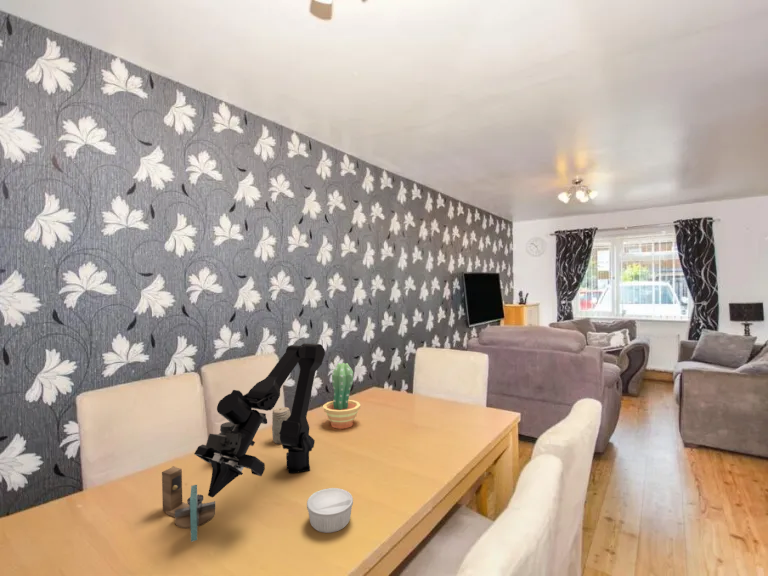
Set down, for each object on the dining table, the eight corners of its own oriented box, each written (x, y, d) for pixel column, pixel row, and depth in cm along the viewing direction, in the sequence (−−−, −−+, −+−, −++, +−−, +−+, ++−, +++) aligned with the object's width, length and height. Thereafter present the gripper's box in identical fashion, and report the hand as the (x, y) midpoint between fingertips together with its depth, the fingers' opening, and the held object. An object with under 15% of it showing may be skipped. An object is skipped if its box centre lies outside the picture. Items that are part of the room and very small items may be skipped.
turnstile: (215, 498, 102) (214, 463, 102) (216, 535, 87) (215, 494, 87) (176, 507, 98) (175, 470, 98) (170, 547, 83) (169, 504, 83)
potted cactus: (368, 422, 160) (367, 362, 160) (345, 434, 147) (344, 369, 147) (339, 415, 168) (338, 358, 168) (315, 427, 155) (314, 365, 155)
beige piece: (268, 444, 139) (268, 411, 138) (279, 436, 146) (278, 405, 146) (284, 446, 137) (284, 412, 137) (294, 437, 144) (293, 406, 144)
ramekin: (333, 542, 86) (333, 519, 86) (297, 526, 92) (296, 504, 91) (362, 516, 95) (362, 495, 95) (327, 503, 101) (327, 483, 101)
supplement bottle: (231, 466, 122) (231, 428, 122) (212, 464, 124) (212, 427, 124) (243, 456, 129) (243, 421, 129) (225, 455, 130) (224, 420, 130)
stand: (183, 498, 104) (183, 461, 104) (223, 511, 98) (222, 472, 98) (151, 517, 96) (150, 477, 96) (192, 532, 90) (191, 489, 90)
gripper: (199, 413, 99) (160, 476, 89) (255, 423, 91) (218, 493, 81) (224, 432, 106) (191, 492, 96) (278, 443, 98) (247, 509, 88)
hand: (210, 496), depth 90 cm, fingers closed
